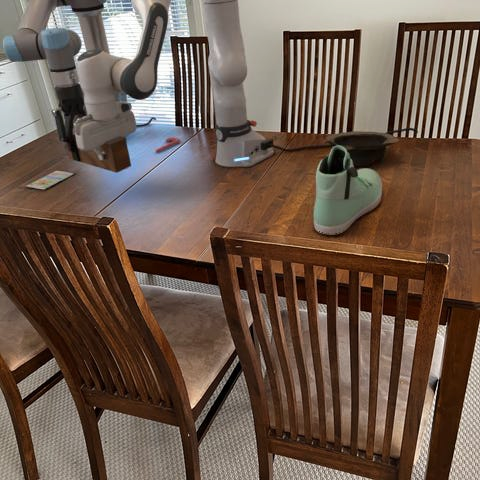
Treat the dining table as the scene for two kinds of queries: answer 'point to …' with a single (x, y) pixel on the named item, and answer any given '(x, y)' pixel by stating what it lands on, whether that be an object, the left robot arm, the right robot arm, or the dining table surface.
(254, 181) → the dining table surface
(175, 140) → the candy cane
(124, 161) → the bar
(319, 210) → the sneaker
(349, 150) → the dark brown hat
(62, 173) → the baking ingredient package
